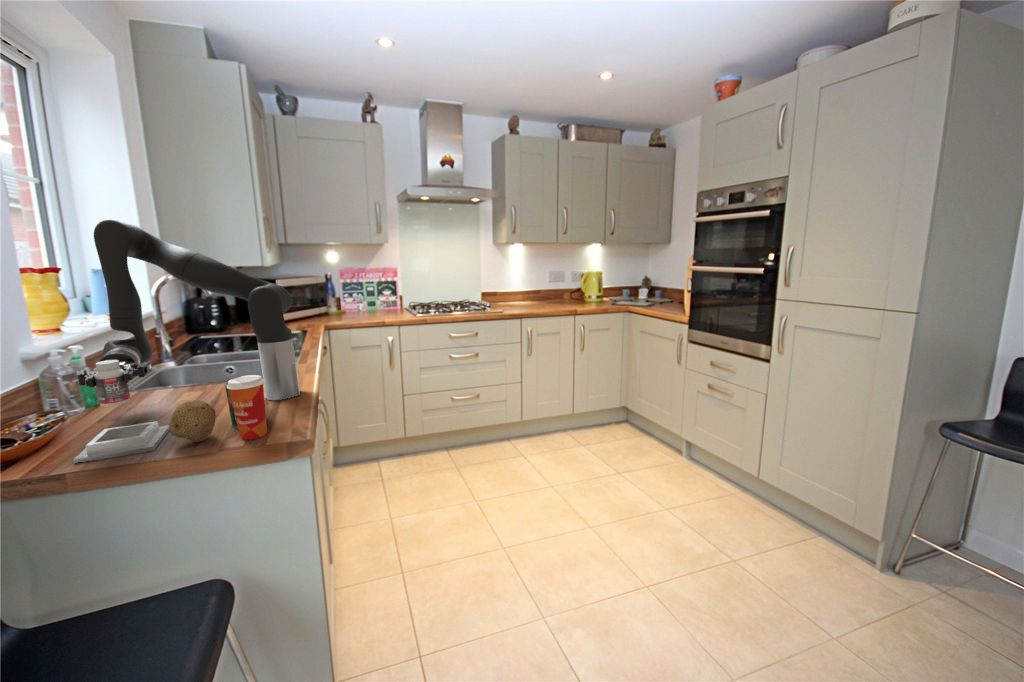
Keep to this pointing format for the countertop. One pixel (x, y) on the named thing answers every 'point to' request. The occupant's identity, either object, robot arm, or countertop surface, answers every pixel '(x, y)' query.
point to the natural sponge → (193, 420)
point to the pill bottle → (111, 384)
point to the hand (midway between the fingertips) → (108, 380)
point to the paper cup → (248, 405)
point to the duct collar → (123, 441)
